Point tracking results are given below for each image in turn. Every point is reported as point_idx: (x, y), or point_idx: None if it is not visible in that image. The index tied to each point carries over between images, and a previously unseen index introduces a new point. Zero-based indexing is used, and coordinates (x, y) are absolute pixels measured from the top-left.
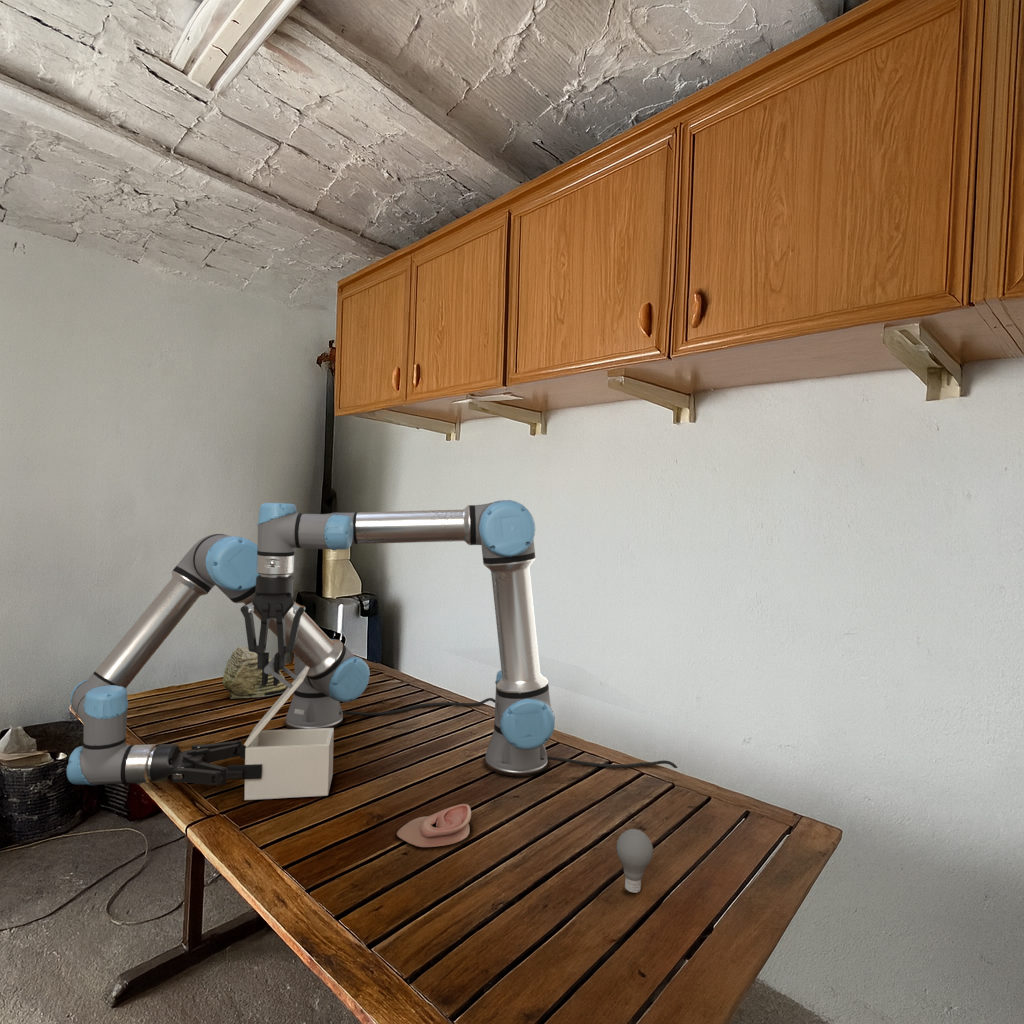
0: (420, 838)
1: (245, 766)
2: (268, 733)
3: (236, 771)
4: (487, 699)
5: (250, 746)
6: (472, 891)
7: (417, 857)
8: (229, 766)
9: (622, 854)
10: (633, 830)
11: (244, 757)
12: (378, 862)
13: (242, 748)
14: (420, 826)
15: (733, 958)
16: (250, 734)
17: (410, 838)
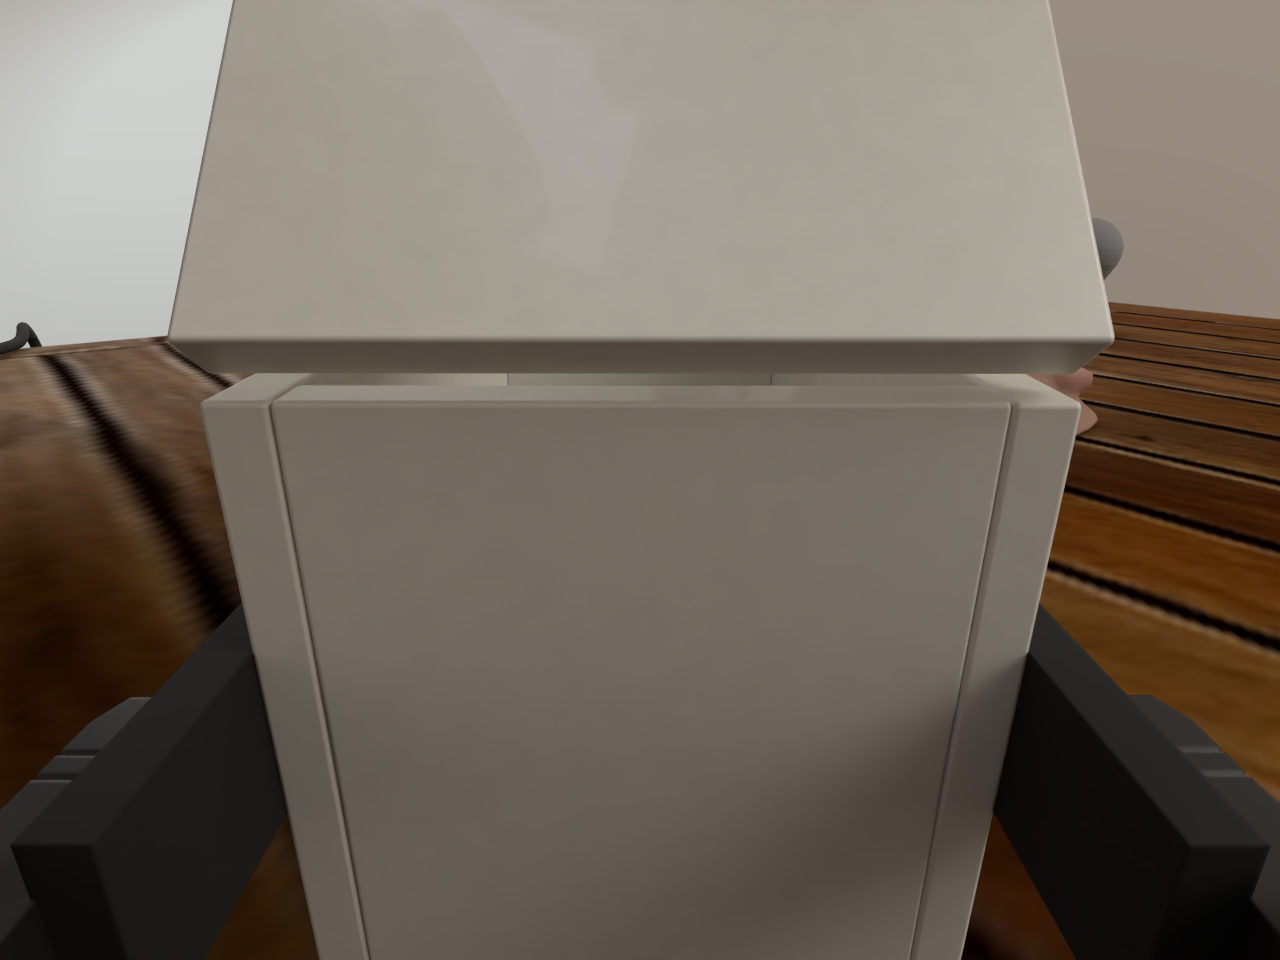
0: (1079, 402)
1: (1075, 646)
2: (353, 379)
3: (1214, 759)
4: (26, 325)
5: (964, 387)
6: (1228, 390)
7: (1147, 427)
8: (1241, 821)
9: (1116, 252)
10: (1091, 218)
11: (203, 955)
12: (1247, 466)
13: (134, 855)
14: (1057, 378)
15: (1178, 312)
16: (684, 294)
17: (1080, 417)
